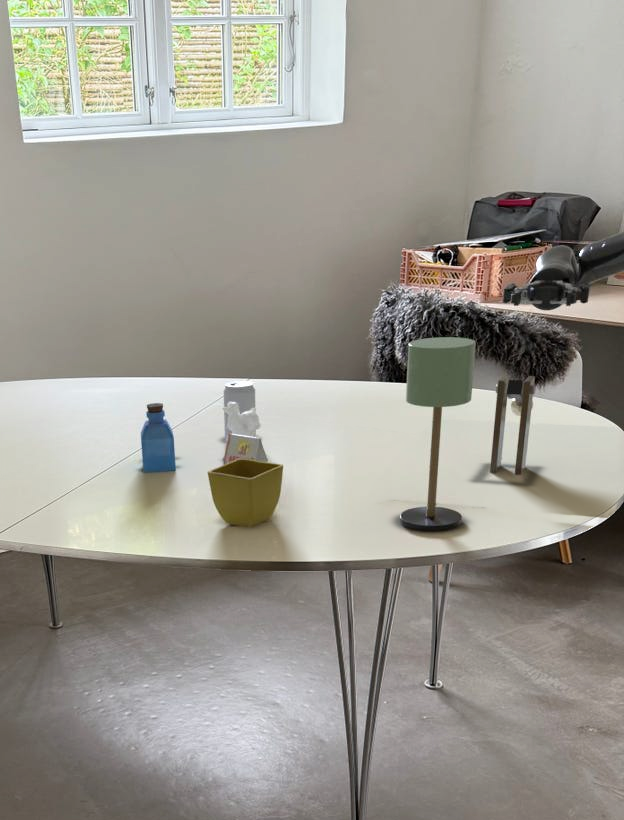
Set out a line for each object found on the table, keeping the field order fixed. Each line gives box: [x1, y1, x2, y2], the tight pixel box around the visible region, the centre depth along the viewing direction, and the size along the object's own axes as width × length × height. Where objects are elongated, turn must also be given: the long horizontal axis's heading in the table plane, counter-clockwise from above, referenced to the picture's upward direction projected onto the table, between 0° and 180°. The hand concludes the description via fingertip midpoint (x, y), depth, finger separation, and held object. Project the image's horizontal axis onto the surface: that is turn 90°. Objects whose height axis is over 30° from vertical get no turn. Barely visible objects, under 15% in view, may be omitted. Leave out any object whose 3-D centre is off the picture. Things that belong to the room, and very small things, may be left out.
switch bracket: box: [489, 374, 537, 475], centre depth 159 cm, size 10×8×17 cm
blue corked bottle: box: [140, 402, 177, 473], centre depth 182 cm, size 6×6×12 cm
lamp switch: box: [507, 379, 534, 417], centre depth 161 cm, size 13×4×4 cm, turn 151°
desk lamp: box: [399, 336, 477, 533], centre depth 139 cm, size 9×9×27 cm
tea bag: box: [222, 434, 269, 465], centre depth 164 cm, size 4×7×10 cm, turn 46°
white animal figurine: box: [222, 401, 262, 443], centre depth 180 cm, size 8×7×12 cm
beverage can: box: [223, 380, 257, 442], centre depth 194 cm, size 6×6×12 cm
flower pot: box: [207, 459, 284, 528], centre depth 150 cm, size 9×9×9 cm
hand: (542, 299), depth 165 cm, fingers open, 8 cm apart
